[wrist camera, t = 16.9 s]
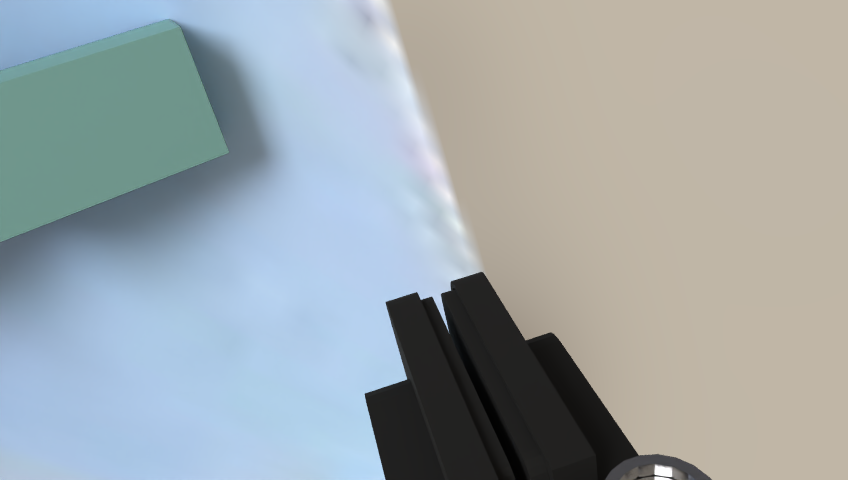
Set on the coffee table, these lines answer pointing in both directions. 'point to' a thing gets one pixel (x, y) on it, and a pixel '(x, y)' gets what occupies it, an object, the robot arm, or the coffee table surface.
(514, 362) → the robot arm
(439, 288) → the coffee table surface
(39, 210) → the tile
